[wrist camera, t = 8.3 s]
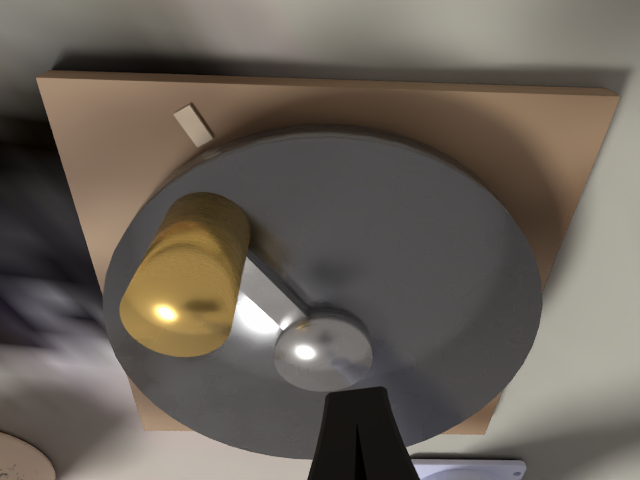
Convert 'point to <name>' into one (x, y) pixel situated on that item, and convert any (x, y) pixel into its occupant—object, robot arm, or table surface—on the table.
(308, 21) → the table surface
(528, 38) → the table surface
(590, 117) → the base plate
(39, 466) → the teacup with lid
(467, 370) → the handwheel
